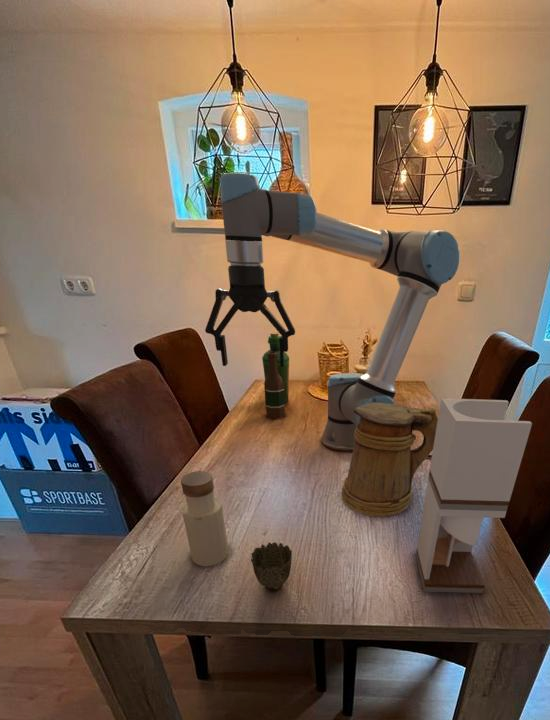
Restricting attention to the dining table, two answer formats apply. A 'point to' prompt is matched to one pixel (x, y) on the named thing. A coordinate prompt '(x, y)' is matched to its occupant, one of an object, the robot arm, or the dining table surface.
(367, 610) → the dining table surface
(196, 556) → the bottle
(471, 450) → the white pedestal holder
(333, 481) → the dining table surface
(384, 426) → the tankard
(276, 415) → the beer bottle
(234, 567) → the dining table surface
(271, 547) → the cup
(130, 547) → the dining table surface
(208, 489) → the cork
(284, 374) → the bottle
